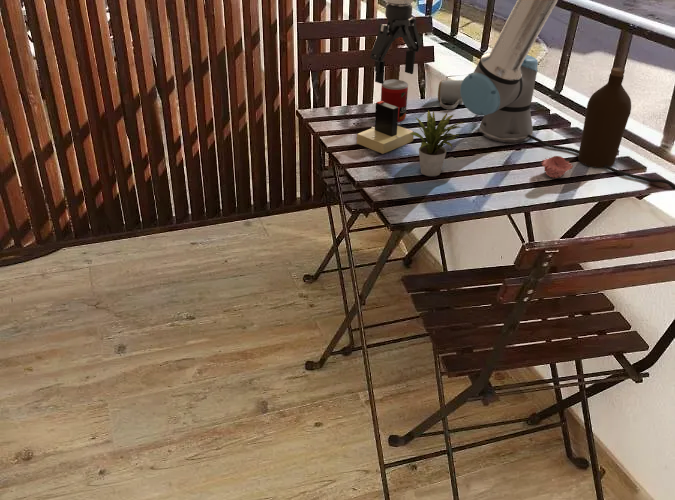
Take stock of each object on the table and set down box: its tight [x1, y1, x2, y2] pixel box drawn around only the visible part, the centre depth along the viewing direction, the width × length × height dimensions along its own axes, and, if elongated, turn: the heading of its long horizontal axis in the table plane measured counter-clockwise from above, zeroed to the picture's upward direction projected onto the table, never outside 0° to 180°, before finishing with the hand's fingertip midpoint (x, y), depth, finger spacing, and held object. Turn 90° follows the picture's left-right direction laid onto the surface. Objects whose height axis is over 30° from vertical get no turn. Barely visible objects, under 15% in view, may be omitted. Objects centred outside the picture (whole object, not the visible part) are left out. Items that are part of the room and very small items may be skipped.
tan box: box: [356, 125, 415, 155], centre depth 184 cm, size 13×11×3 cm
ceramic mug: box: [437, 79, 464, 110], centre depth 210 cm, size 11×8×8 cm
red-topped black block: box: [374, 100, 399, 137], centre depth 181 cm, size 6×2×8 cm, turn 44°
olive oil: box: [577, 67, 632, 169], centre depth 169 cm, size 11×11×25 cm
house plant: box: [410, 109, 464, 177], centre depth 163 cm, size 14×14×16 cm
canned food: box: [380, 79, 409, 123], centre depth 198 cm, size 8×8×11 cm
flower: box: [541, 155, 574, 179], centre depth 166 cm, size 8×8×6 cm
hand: (394, 77), depth 194 cm, fingers open, 13 cm apart
